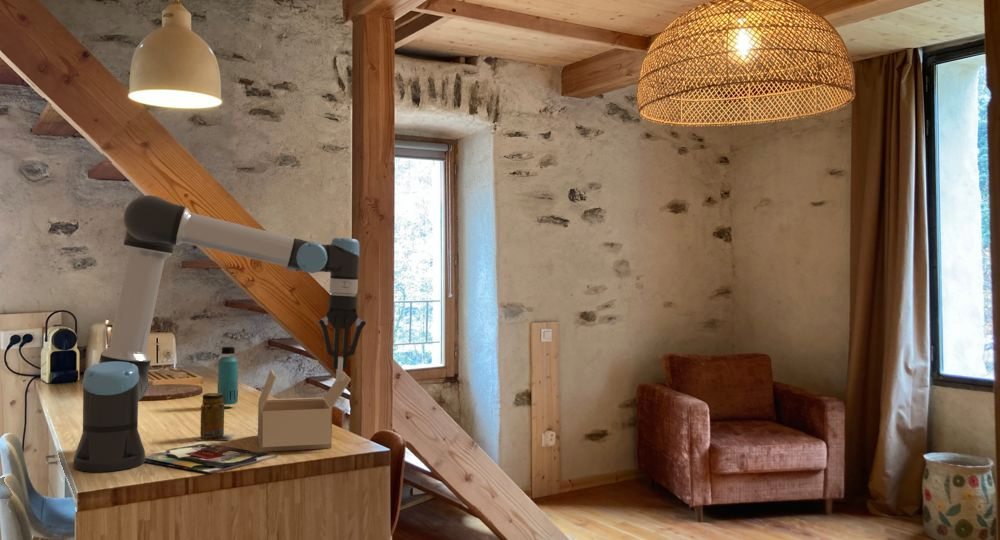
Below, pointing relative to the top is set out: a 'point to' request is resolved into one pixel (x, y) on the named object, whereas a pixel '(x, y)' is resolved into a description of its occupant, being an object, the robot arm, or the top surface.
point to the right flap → (336, 390)
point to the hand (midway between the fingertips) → (338, 380)
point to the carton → (290, 406)
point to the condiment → (212, 418)
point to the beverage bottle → (228, 377)
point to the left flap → (266, 389)
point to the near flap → (296, 427)
